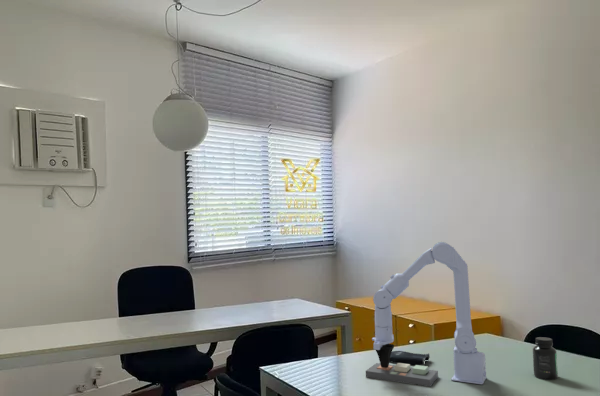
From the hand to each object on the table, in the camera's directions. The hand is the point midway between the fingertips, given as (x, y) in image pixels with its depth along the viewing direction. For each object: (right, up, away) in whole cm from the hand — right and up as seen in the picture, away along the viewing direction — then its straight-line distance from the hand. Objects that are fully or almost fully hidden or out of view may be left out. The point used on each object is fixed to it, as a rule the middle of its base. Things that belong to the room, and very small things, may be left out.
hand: (384, 367), depth 159 cm
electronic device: (+11, -4, +14) cm, 18 cm away
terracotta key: (0, -2, 0) cm, 2 cm away
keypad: (+5, -2, -4) cm, 6 cm away
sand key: (+5, 0, -3) cm, 6 cm away
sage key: (+10, 0, -6) cm, 12 cm away
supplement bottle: (+50, -1, -7) cm, 51 cm away
